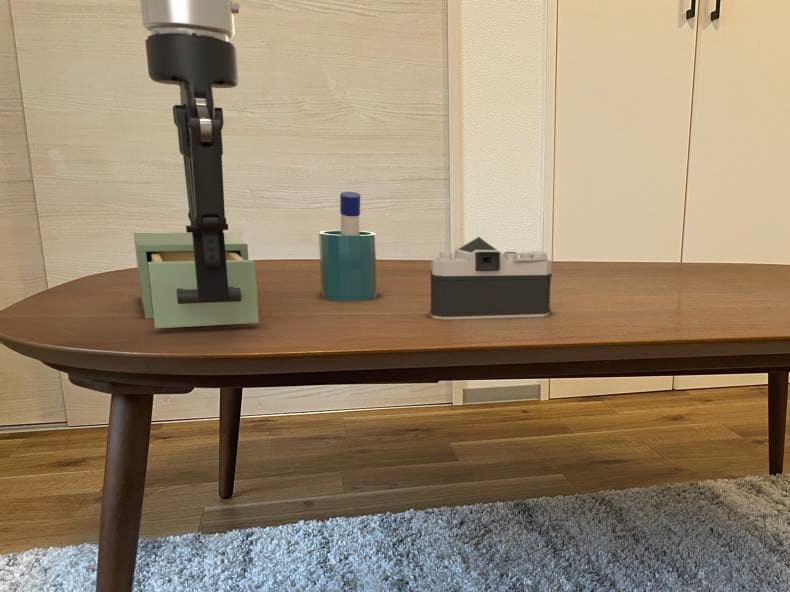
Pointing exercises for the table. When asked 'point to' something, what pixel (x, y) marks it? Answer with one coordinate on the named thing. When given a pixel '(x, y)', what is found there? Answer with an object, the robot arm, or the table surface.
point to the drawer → (180, 296)
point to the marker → (350, 213)
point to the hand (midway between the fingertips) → (213, 299)
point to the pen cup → (348, 266)
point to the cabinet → (170, 243)
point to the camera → (489, 283)
